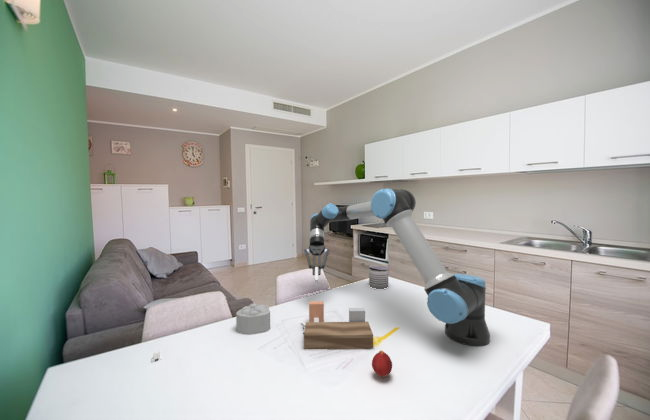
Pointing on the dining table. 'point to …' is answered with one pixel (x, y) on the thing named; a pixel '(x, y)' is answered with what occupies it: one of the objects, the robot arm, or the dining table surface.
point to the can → (378, 277)
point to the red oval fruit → (382, 364)
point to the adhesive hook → (156, 356)
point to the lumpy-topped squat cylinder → (253, 319)
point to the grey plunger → (356, 315)
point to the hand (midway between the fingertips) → (316, 281)
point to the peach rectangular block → (316, 311)
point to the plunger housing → (338, 335)
